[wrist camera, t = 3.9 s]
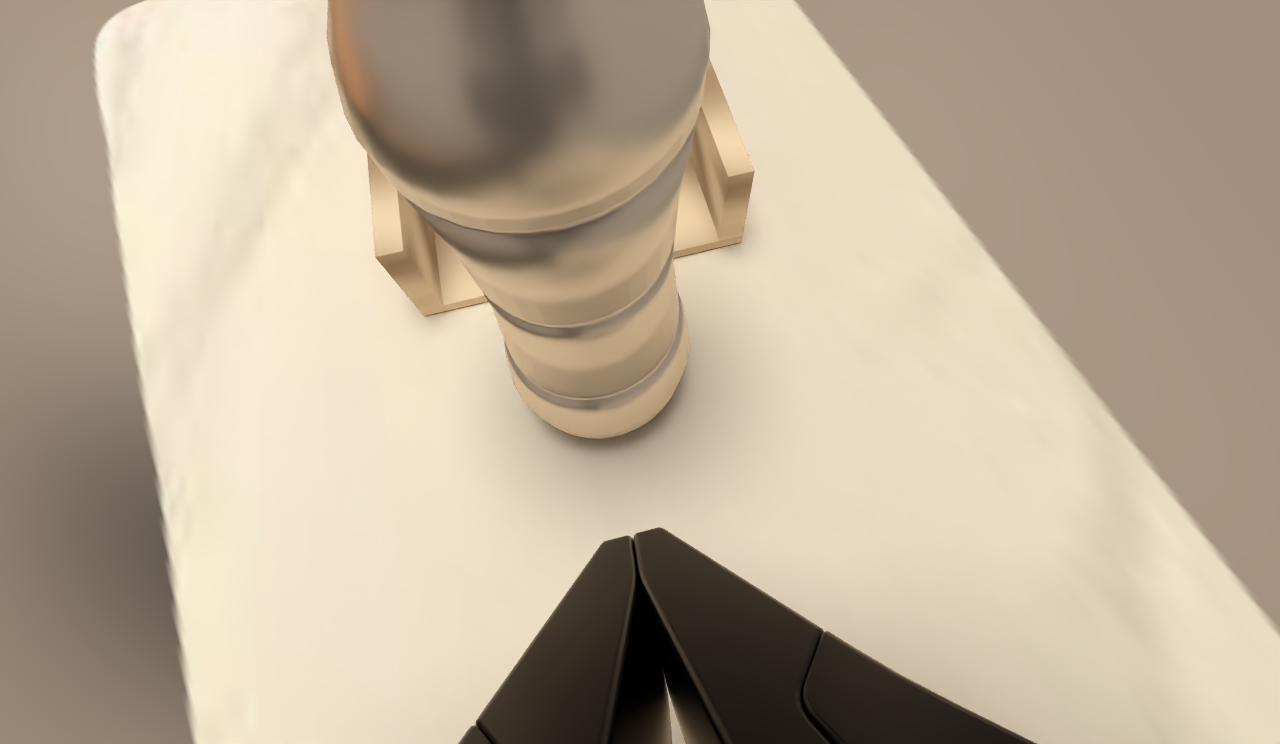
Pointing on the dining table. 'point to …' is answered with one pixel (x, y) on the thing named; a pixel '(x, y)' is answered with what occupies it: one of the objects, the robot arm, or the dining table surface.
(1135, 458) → the dining table surface
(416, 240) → the tray
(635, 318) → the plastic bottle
